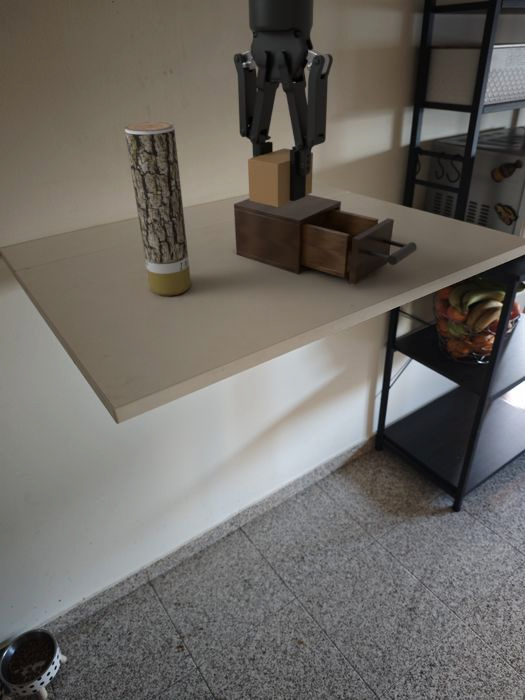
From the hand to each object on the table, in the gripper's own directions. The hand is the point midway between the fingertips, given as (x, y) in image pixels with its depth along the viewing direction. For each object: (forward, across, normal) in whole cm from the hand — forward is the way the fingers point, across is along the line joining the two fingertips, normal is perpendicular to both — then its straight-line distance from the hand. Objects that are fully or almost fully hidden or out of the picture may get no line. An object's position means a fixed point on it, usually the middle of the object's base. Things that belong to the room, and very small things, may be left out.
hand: (281, 194), depth 70 cm
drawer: (+16, -4, -15) cm, 22 cm away
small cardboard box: (0, 0, 0) cm, 0 cm away
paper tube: (+17, +17, +8) cm, 25 cm away
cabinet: (+16, +10, -16) cm, 25 cm away
